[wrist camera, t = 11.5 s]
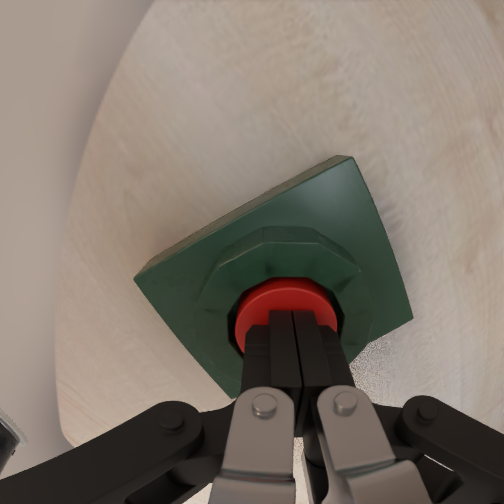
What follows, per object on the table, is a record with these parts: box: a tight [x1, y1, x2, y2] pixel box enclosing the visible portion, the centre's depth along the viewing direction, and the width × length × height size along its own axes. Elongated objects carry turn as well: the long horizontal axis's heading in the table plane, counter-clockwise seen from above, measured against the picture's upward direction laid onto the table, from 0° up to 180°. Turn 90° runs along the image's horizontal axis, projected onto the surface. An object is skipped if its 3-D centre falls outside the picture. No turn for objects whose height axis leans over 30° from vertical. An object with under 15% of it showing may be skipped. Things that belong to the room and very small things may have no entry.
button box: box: [133, 155, 413, 399], centre depth 12 cm, size 10×8×4 cm
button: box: [235, 277, 337, 353], centre depth 11 cm, size 4×4×2 cm
